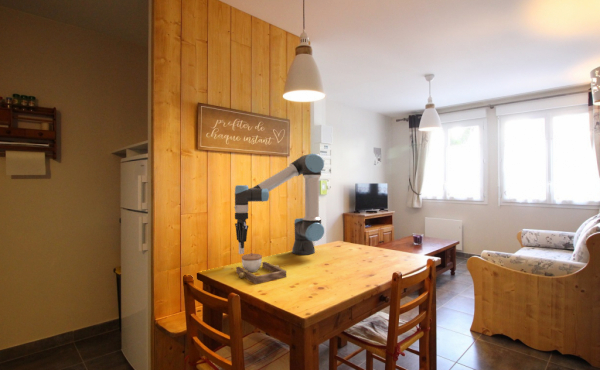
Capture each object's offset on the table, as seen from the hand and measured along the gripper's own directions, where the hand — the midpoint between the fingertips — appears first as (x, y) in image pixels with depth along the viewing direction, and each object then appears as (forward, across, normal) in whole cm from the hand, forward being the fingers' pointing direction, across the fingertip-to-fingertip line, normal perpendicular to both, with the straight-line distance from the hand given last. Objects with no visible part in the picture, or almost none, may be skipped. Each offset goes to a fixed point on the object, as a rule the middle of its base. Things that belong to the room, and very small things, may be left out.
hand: (241, 253), depth 170 cm
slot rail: (+7, +21, 0) cm, 22 cm away
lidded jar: (+7, +12, 0) cm, 14 cm away
